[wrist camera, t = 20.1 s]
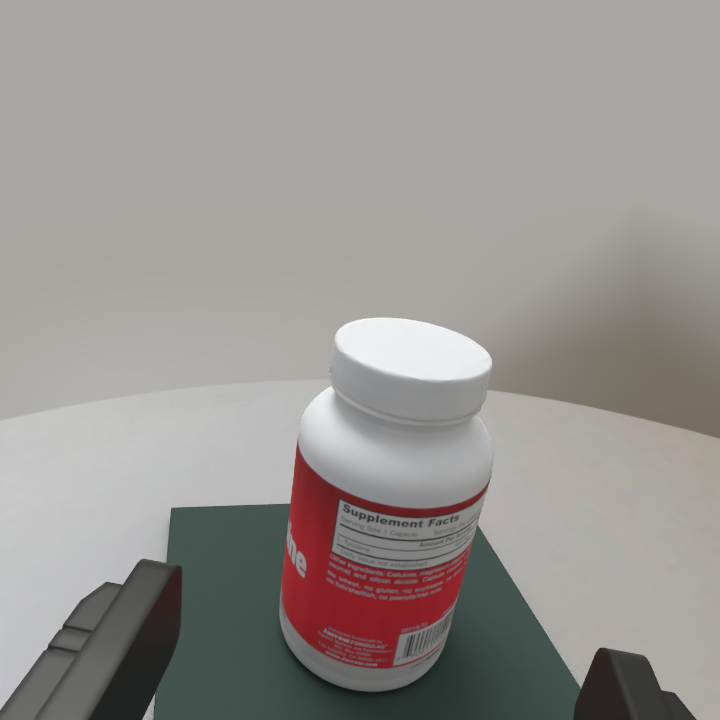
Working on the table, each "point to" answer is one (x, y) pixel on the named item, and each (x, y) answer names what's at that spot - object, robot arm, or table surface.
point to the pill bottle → (385, 502)
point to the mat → (304, 688)
